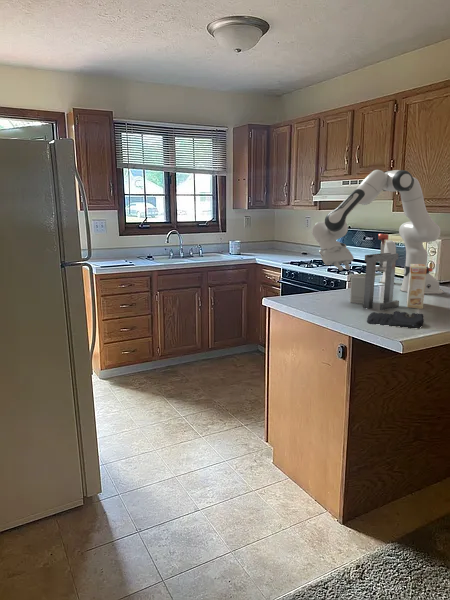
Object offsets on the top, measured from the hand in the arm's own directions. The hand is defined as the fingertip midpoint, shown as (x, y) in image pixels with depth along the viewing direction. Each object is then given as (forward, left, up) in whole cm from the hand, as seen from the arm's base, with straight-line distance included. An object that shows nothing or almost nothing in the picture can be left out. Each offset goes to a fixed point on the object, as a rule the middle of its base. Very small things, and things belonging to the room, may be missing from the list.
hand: (345, 269), depth 236 cm
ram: (-14, +16, +2) cm, 21 cm away
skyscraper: (-36, -54, -16) cm, 67 cm away
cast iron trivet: (-13, +47, -16) cm, 52 cm away
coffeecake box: (-32, +12, -16) cm, 38 cm away
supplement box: (-6, +7, -16) cm, 18 cm away
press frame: (-15, +17, -15) cm, 28 cm away
